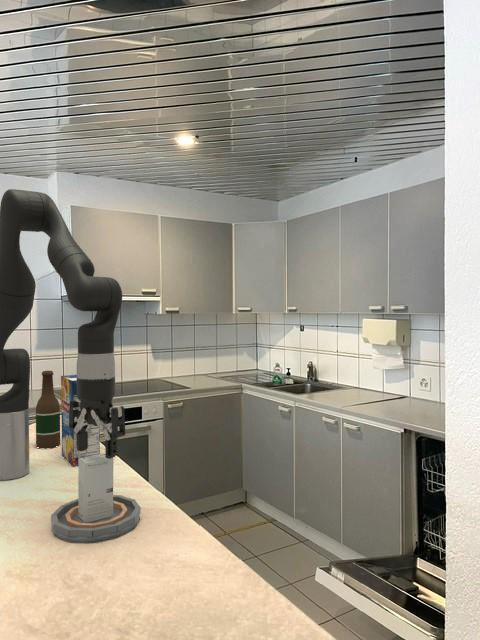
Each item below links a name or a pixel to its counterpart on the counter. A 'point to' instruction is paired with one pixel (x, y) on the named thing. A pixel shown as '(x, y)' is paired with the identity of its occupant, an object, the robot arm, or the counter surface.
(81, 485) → the skincare box
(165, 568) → the counter surface
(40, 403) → the beer bottle
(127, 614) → the counter surface
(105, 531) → the ring tray
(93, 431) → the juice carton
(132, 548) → the counter surface
